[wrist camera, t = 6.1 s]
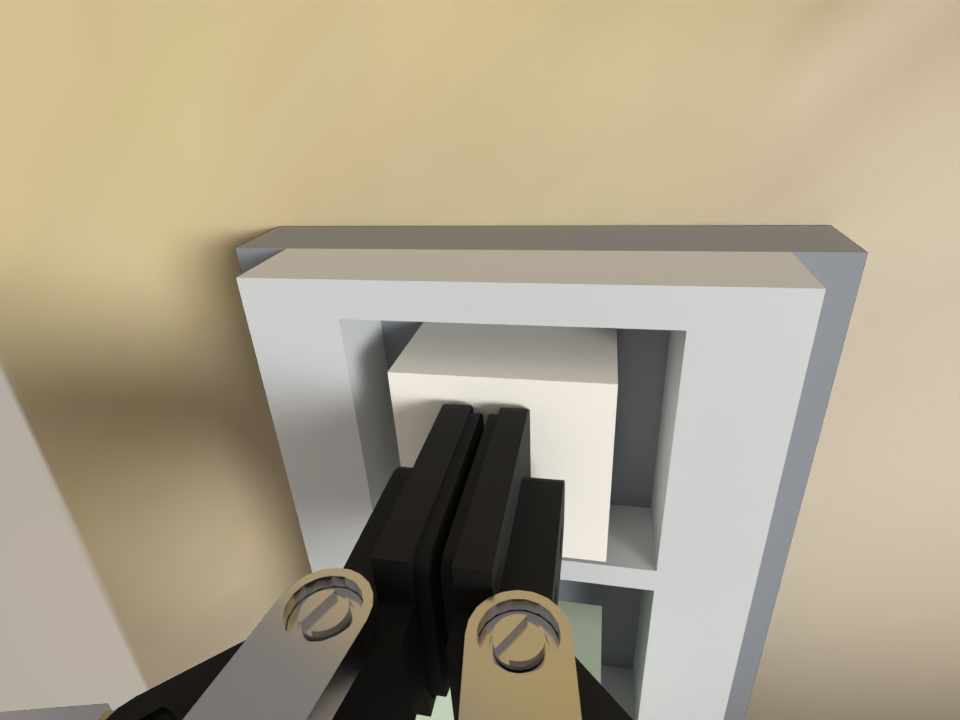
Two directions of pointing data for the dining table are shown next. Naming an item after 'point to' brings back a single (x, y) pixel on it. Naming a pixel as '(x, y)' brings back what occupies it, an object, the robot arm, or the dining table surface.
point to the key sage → (585, 642)
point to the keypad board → (639, 413)
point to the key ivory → (523, 405)
